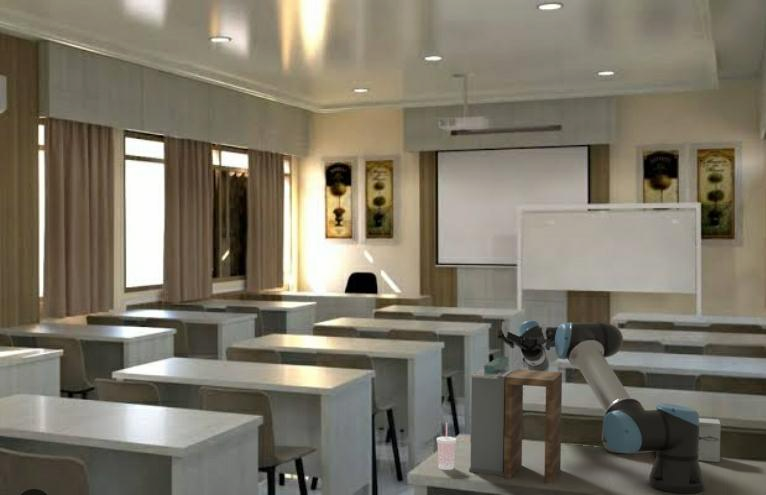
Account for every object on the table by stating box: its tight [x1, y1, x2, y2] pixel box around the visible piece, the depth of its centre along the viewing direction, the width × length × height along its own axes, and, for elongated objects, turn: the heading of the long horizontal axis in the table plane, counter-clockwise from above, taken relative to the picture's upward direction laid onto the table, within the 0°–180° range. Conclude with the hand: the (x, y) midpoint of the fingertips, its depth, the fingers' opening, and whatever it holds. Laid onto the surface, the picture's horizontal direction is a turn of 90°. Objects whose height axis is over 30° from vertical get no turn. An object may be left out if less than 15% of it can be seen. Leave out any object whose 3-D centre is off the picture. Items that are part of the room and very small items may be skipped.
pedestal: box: [468, 368, 514, 476], centre depth 268 cm, size 11×13×30 cm
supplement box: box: [698, 417, 722, 463], centre depth 282 cm, size 7×7×13 cm
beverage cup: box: [436, 422, 457, 471], centre depth 268 cm, size 6×6×14 cm
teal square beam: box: [470, 356, 509, 379], centre depth 269 cm, size 8×26×3 cm, turn 159°
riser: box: [503, 368, 563, 484], centre depth 262 cm, size 14×16×30 cm
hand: (523, 326), depth 291 cm, fingers open, 13 cm apart
